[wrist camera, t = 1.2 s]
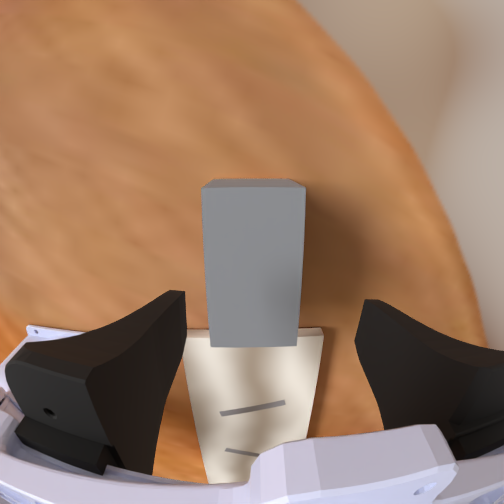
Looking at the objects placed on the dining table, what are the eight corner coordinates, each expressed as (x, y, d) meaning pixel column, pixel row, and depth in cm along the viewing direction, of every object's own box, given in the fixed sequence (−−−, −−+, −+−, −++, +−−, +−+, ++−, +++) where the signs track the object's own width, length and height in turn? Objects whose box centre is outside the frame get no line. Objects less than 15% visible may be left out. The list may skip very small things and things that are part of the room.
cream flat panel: (209, 476, 31) (208, 483, 29) (182, 329, 23) (179, 337, 22) (294, 475, 31) (295, 482, 30) (320, 327, 23) (324, 335, 22)
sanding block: (218, 300, 23) (210, 347, 17) (214, 178, 20) (201, 188, 14) (285, 300, 23) (296, 346, 17) (288, 178, 20) (305, 187, 14)
